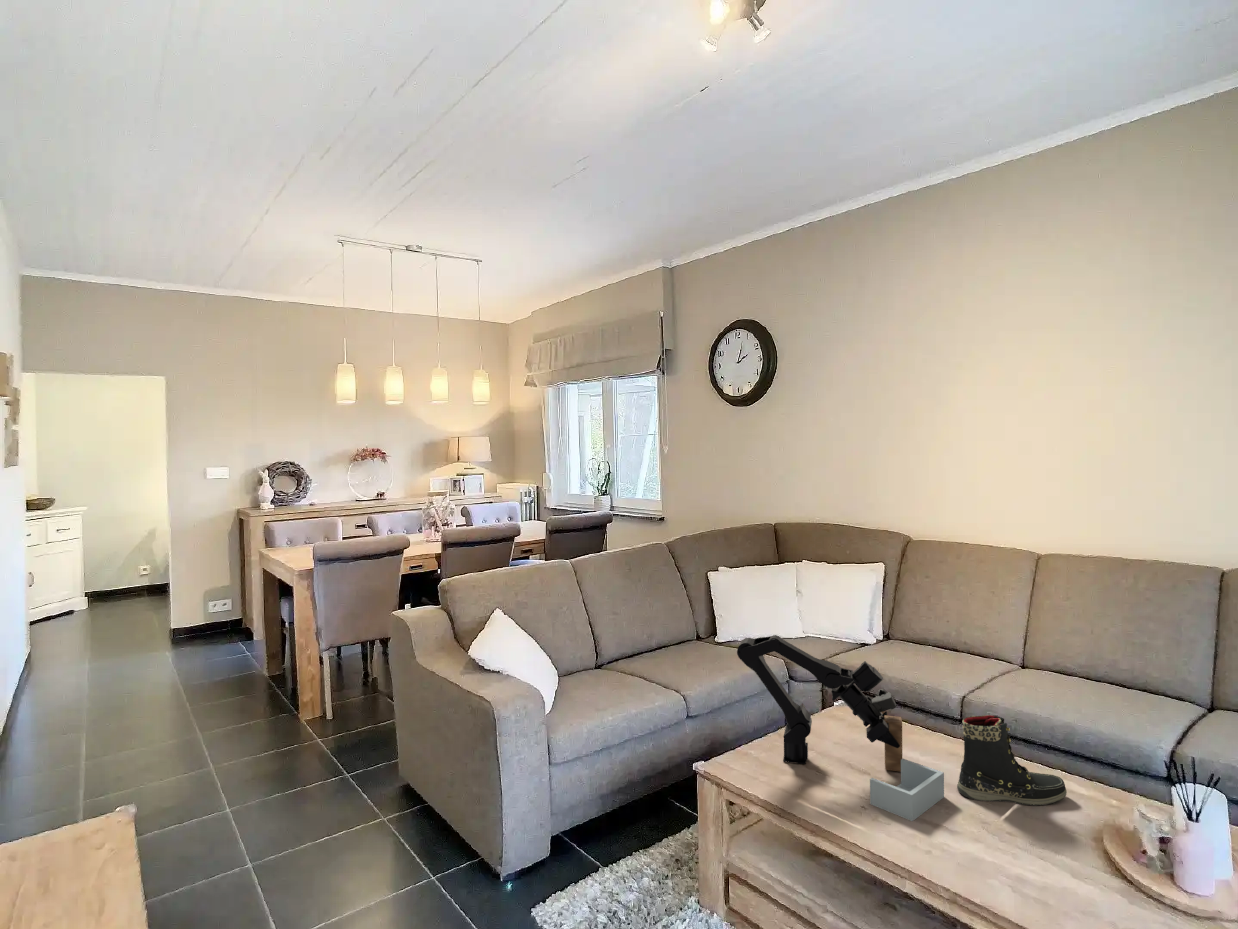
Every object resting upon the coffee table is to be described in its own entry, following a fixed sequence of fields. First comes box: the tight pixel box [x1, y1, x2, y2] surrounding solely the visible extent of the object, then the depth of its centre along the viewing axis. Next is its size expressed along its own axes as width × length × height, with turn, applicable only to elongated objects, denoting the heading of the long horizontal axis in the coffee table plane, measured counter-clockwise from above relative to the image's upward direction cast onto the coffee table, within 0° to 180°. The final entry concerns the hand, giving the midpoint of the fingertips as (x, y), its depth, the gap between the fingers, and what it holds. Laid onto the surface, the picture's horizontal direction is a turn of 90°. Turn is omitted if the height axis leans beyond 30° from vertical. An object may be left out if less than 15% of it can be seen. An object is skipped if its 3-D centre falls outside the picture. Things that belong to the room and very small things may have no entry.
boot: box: [956, 714, 1068, 806], centre depth 182 cm, size 12×27×20 cm, turn 101°
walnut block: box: [884, 714, 903, 773], centre depth 198 cm, size 4×4×14 cm
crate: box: [869, 758, 945, 822], centre depth 180 cm, size 11×17×7 cm, turn 131°
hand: (898, 743), depth 197 cm, fingers closed on walnut block, 4 cm apart
